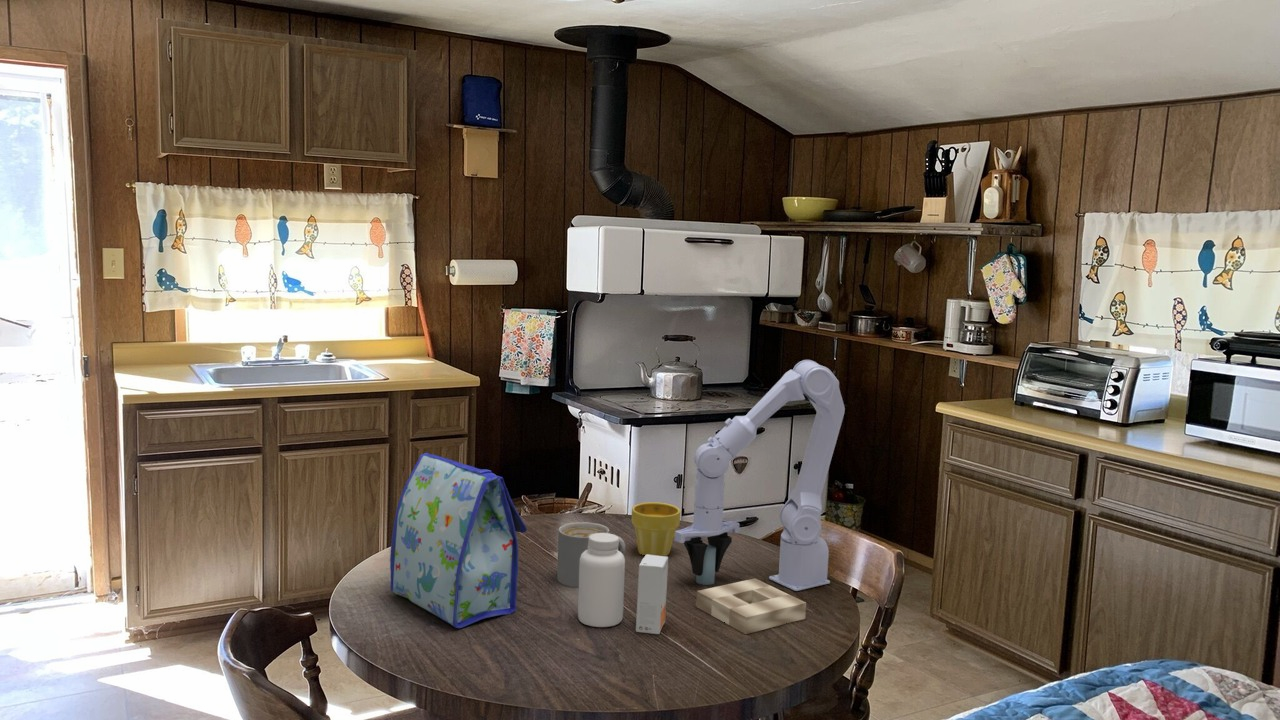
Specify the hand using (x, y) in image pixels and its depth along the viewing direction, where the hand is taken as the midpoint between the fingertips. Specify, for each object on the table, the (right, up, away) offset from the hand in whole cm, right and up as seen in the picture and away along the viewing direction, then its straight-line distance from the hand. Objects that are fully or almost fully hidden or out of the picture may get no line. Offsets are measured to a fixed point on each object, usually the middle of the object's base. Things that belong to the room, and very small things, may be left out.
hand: (705, 572), depth 188 cm
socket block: (+7, -4, -15) cm, 17 cm away
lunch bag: (-46, -2, -15) cm, 49 cm away
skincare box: (-11, -5, -23) cm, 26 cm away
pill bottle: (-20, -4, -20) cm, 29 cm away
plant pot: (-10, 0, +16) cm, 19 cm away
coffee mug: (-23, -1, -1) cm, 23 cm away
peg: (0, -2, 0) cm, 2 cm away
